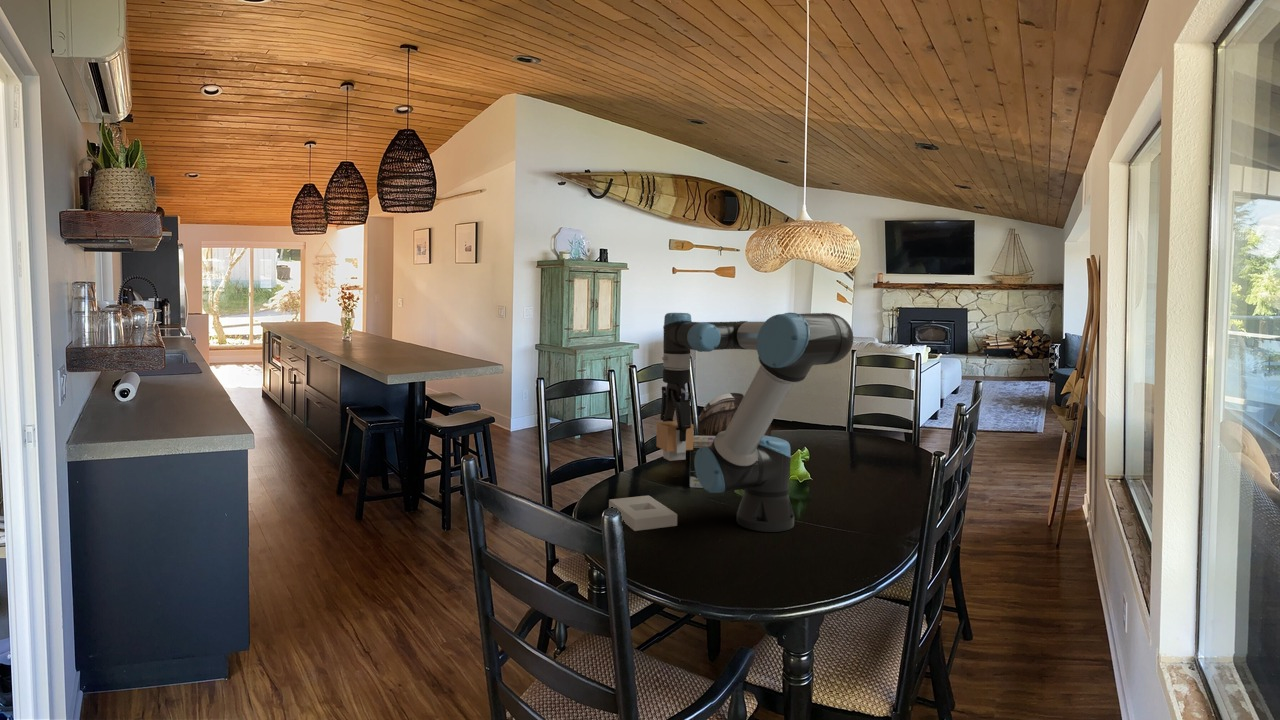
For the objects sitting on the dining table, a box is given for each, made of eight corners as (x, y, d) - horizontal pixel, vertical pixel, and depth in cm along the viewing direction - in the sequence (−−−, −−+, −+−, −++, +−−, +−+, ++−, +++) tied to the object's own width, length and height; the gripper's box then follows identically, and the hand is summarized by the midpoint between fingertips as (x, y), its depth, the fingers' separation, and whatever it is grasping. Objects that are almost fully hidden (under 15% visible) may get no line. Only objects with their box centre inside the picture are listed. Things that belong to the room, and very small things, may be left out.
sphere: (774, 475, 250) (777, 400, 247) (698, 473, 251) (700, 398, 248) (763, 457, 275) (766, 388, 272) (694, 455, 275) (696, 386, 273)
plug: (692, 460, 214) (693, 424, 213) (666, 462, 211) (667, 426, 210) (681, 454, 220) (682, 420, 219) (656, 456, 217) (656, 422, 216)
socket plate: (677, 525, 199) (677, 514, 199) (634, 530, 194) (634, 519, 194) (648, 505, 215) (648, 495, 215) (608, 510, 210) (609, 499, 210)
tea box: (737, 481, 243) (739, 435, 241) (738, 490, 233) (740, 442, 231) (689, 479, 244) (691, 433, 242) (688, 488, 234) (690, 440, 232)
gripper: (649, 364, 220) (647, 443, 223) (680, 373, 202) (678, 458, 205) (672, 364, 223) (671, 441, 226) (705, 372, 205) (703, 456, 208)
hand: (674, 449), depth 215 cm, fingers closed on plug, 7 cm apart
